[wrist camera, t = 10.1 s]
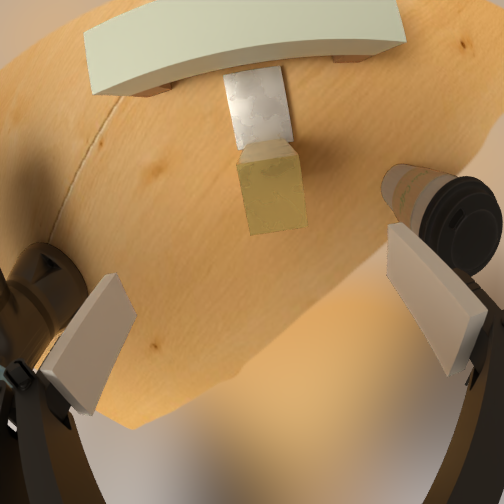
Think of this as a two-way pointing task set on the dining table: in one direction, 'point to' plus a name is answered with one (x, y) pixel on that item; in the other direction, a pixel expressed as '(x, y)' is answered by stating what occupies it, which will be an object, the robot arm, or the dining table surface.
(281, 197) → the blade tool
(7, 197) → the dining table surface
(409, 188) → the coffee cup
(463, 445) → the robot arm
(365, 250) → the dining table surface
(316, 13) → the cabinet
